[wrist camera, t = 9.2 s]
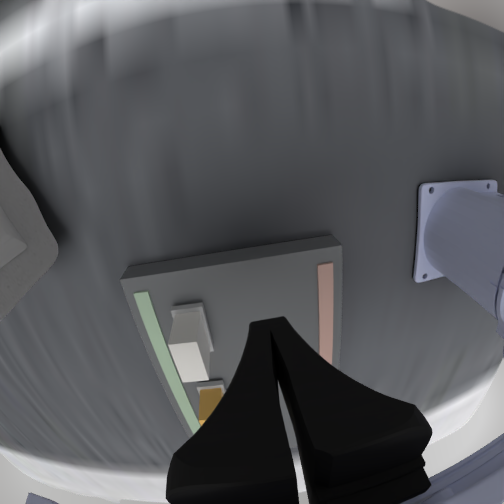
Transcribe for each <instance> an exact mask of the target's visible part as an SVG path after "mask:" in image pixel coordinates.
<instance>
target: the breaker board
mask: <svg viewBox="0 0 504 504" xmlns="http://www.w3.org/2000/svg"><path fill="white" fill-rule="evenodd" d="M120 282H121V285H122V288H123V291H124V293H125V296H126V299H127V302H128V305H129V307H130V310H131V313H132V316H133V318H134V321H135V323H136V326H137V329H138V331H139V334H140V336H141V339H142V341H143V343H144V346H145V348H146V351H147V353H148V355H149V358H150V360H151V362H152V364H153V367H154V369H155V371H156V373H157V376H158V378H159V380H160V382H161V384H162V386H163V388H164V390H165V392H166V395H167V397H168V399H169V401H170V403H171V405H172V407H173V409H174V411H175V412H176V414H177V416H178V418H179V420H180V422H181V424H182V426H183V428H184V429H185V431H186V433H187V435H188V437H189V438H191V437H192V436H193V435H194V434H195V433H196V432H197V430H198V429H199V428H200V427H201V425H200V423H199V401H200V395H199V393H198V390H197V383H200V382H210V381H219V380H223V382H224V386H225V389H226V390H227V388H228V386H229V385H230V383H231V381H232V379H233V377H234V374H235V372H236V370H237V367H238V365H239V362H240V360H241V357H242V354H243V351H244V348H245V345H246V341H247V337H248V331H249V324H250V323H251V322H253V321H259V320H265V319H270V318H276V317H281V316H284V317H285V318H287V320H288V321H289V323H290V324H291V325H292V327H293V328H294V329H295V330H296V332H297V333H298V334H299V335H300V336H301V337H302V338H303V339H304V340H305V341H306V342H307V343H308V344H309V345H310V347H311V348H313V349H314V350H315V351H316V352H317V353H318V354H319V355H320V356H321V357H323V358H324V359H325V360H326V361H327V362H329V363H330V364H331V365H332V366H334V367H335V368H337V369H338V370H339V363H340V346H341V325H342V244H341V243H340V242H339V241H338V240H337V239H336V238H335V237H334V236H333V235H327V236H321V237H314V238H307V239H301V240H294V241H288V242H281V243H275V244H268V245H262V246H256V247H249V248H243V249H236V250H230V251H224V252H217V253H211V254H204V255H198V256H192V257H185V258H179V259H173V260H167V261H160V262H154V263H148V264H141V265H135V266H129V267H128V268H127V269H126V271H125V273H124V274H123V276H122V277H121V279H120ZM201 302H203V306H204V310H205V314H206V318H207V321H208V325H209V329H210V333H211V337H212V340H213V344H214V351H212V352H210V365H209V380H205V381H195V382H182V379H181V377H180V375H179V372H178V370H177V367H176V364H175V362H174V359H173V357H172V354H171V351H170V349H169V346H168V343H169V338H170V334H171V329H172V325H173V321H174V320H173V317H172V313H171V308H172V306H179V305H187V304H194V303H201ZM278 388H279V400H280V407H281V411H282V416H283V420H284V425H285V429H286V433H287V437H288V442H289V446H290V448H294V447H298V446H297V441H296V437H295V432H294V429H293V425H292V422H291V419H290V416H289V413H288V410H287V407H286V404H285V401H284V398H283V395H282V392H281V388H280V385H279V382H278Z"/></svg>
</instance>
